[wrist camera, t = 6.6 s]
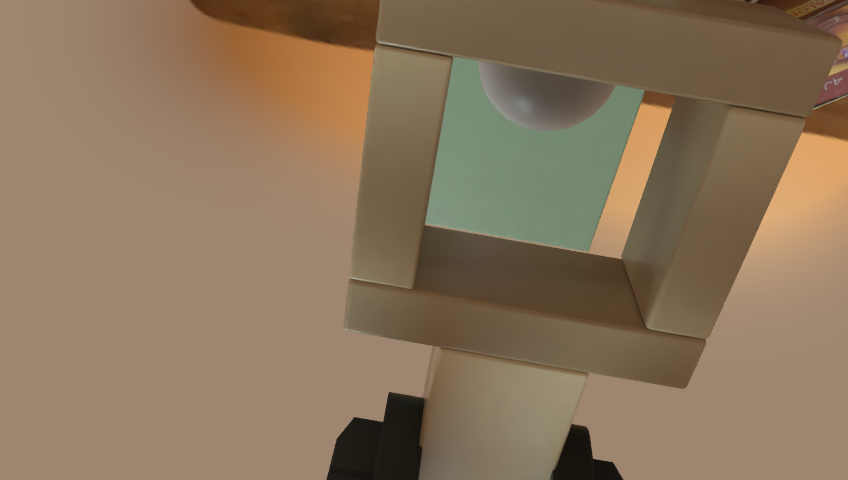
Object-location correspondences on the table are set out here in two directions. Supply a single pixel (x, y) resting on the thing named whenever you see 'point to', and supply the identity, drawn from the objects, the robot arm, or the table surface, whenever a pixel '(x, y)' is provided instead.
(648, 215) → the beige square frame paddle
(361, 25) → the table surface
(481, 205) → the stand
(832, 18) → the candy box
